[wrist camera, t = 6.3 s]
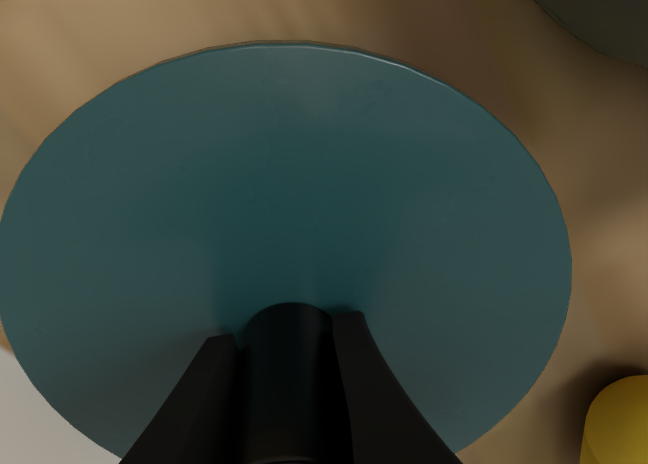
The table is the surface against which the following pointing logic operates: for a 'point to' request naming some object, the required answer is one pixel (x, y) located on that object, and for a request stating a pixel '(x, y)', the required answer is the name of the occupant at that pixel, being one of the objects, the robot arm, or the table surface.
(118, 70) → the table surface
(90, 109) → the lid
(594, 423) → the small lemon
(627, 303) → the table surface
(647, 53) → the pot
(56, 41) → the table surface
